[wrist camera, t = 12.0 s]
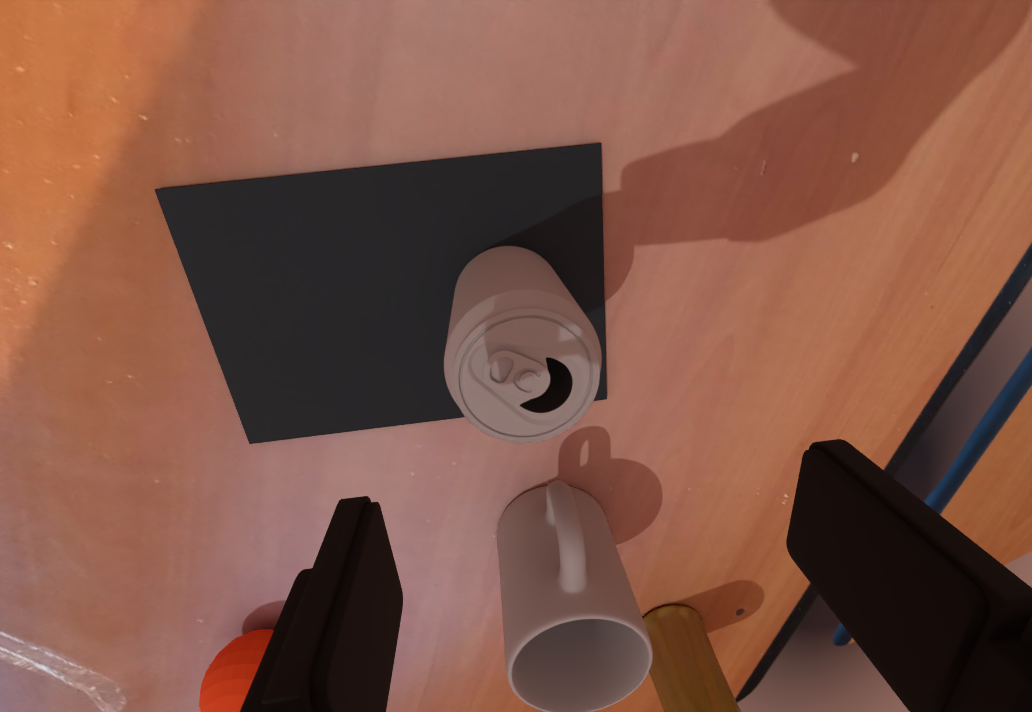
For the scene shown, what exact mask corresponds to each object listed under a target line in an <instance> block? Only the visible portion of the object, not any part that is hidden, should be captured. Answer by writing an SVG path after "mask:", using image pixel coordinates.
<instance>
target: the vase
mask: <svg viewBox="0 0 1032 712" xmlns="http://www.w3.org/2000/svg"><path fill="white" fill-rule="evenodd" d="M643 621H644V624H645V627H646V629H647V632H648V635H649V638H650V641H651V645H652V651H653V659H652V664H651V667H650V670H649V673H650V675H651V678H652V681H653V683H654V686H655V689H656V691H657V694H658V697H659V700H660V703H661V705H662V708H663V710H664V712H741V711H740V708H739V707H738V705H737V703H736V701H735V699H734V697H733V694H732V692H731V690H730V688H729V685H728V683H727V681H726V678H725V676H724V674H723V672H722V669H721V667H720V665H719V663H718V660H717V658H716V656H715V653H714V650H713V648H712V645H711V643H710V640H709V638H708V635H707V633H706V630H705V627H704V625H703V621H702V618H701V616H700V615H699V614H698V613H697V612H696V611H695V610H693V609H692V608H690V607H687V606H681V605H669V606H664V607H660V608H658V609H655V610H653V611H651V612H650V613H648V614H647V615H646V616H645V617H644V618H643Z"/></svg>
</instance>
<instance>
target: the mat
mask: <svg viewBox="0 0 1032 712" xmlns="http://www.w3.org/2000/svg"><path fill="white" fill-rule="evenodd" d="M155 192H156V195H157V198H158V200H159V203H160V206H161V208H162V211H163V214H164V216H165V219H166V222H167V224H168V227H169V230H170V232H171V235H172V238H173V240H174V243H175V246H176V248H177V251H178V254H179V256H180V259H181V262H182V264H183V267H184V270H185V273H186V275H187V278H188V281H189V283H190V286H191V289H192V291H193V294H194V297H195V299H196V302H197V305H198V307H199V310H200V313H201V315H202V318H203V321H204V323H205V326H206V329H207V331H208V334H209V337H210V339H211V342H212V345H213V347H214V350H215V353H216V355H217V358H218V361H219V363H220V366H221V369H222V371H223V374H224V377H225V380H226V382H227V385H228V388H229V390H230V393H231V396H232V398H233V401H234V404H235V406H236V409H237V412H238V414H239V417H240V420H241V422H242V425H243V428H244V430H245V433H246V436H247V438H248V441H249V444H253V443H261V442H269V441H277V440H285V439H293V438H301V437H309V436H317V435H325V434H333V433H341V432H349V431H357V430H365V429H373V428H381V427H389V426H397V425H405V424H413V423H421V422H429V421H437V420H445V419H453V418H461V417H465V416H464V414H463V413H462V411H461V410H460V408H459V406H458V405H457V404H456V402H455V401H454V399H453V397H452V396H451V394H450V392H449V389H448V386H447V383H446V379H445V374H444V355H445V349H446V343H447V336H448V330H449V324H450V318H451V311H452V305H453V299H454V292H455V287H456V283H457V281H458V278H459V276H460V274H461V272H462V271H463V269H464V268H465V267H466V265H467V264H468V263H469V262H470V261H471V260H472V259H474V258H475V257H476V256H478V255H479V254H481V253H483V252H485V251H487V250H489V249H492V248H496V247H501V246H516V247H521V248H525V249H528V250H530V251H533V252H535V253H536V254H538V255H539V256H541V257H542V258H543V259H544V260H546V261H547V262H548V263H549V265H550V266H551V267H552V268H553V270H554V271H555V273H556V274H557V276H558V277H559V278H560V280H561V281H562V283H563V284H564V285H565V287H566V288H567V290H568V291H569V293H570V294H571V295H572V297H573V298H574V300H575V301H576V302H577V304H578V305H579V307H580V308H581V309H582V311H583V312H584V314H585V315H586V317H587V318H588V319H589V321H590V322H591V324H592V326H593V328H594V329H595V332H596V334H597V336H598V339H599V343H600V347H601V358H602V361H601V371H600V379H599V386H598V390H597V393H596V396H595V398H594V400H593V401H596V400H604V399H607V389H606V345H605V300H604V256H603V211H602V167H601V143H596V144H587V145H577V146H567V147H558V148H548V149H538V150H529V151H519V152H509V153H500V154H490V155H480V156H471V157H461V158H451V159H442V160H432V161H422V162H413V163H403V164H393V165H384V166H374V167H364V168H355V169H345V170H335V171H326V172H316V173H306V174H297V175H287V176H277V177H268V178H258V179H248V180H239V181H229V182H219V183H210V184H200V185H190V186H181V187H171V188H161V189H155Z"/></svg>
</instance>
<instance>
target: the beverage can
mask: <svg viewBox="0 0 1032 712" xmlns="http://www.w3.org/2000/svg"><path fill="white" fill-rule="evenodd" d="M601 361H602V358H601V347H600V343H599V339H598V336H597V334H596V332H595V329H594V328H593V326H592V324H591V322H590V321H589V319H588V318H587V317H586V315H585V314H584V312H583V311H582V309H581V308H580V307H579V305H578V304H577V302H576V301H575V300H574V298H573V297H572V295H571V294H570V293H569V291H568V290H567V288H566V287H565V285H564V284H563V283H562V281H561V280H560V278H559V277H558V276H557V274H556V273H555V271H554V270H553V268H552V267H551V266H550V265H549V263H548V262H547V261H546V260H544V259H543V258H542V257H541V256H539V255H538V254H536V253H535V252H533V251H530V250H528V249H525V248H521V247H516V246H501V247H496V248H492V249H489V250H487V251H485V252H483V253H481V254H479V255H478V256H476V257H475V258H474V259H472V260H471V261H470V262H469V263H468V264H467V265H466V267H465V268H464V269H463V271H462V272H461V274H460V276H459V278H458V281H457V283H456V287H455V292H454V299H453V305H452V311H451V318H450V324H449V330H448V336H447V343H446V349H445V355H444V374H445V379H446V383H447V386H448V389H449V392H450V394H451V396H452V397H453V399H454V401H455V402H456V404H457V405H458V406H459V408H460V410H461V411H462V413H463V414H464V416H465V417H466V418H467V419H468V421H469V422H470V423H471V424H472V425H474V426H475V427H476V428H477V429H479V430H480V431H482V432H483V433H485V434H487V435H489V436H491V437H493V438H496V439H499V440H502V441H506V442H512V443H534V442H539V441H544V440H547V439H550V438H553V437H555V436H557V435H559V434H561V433H563V432H564V431H566V430H568V429H569V428H571V427H572V426H573V425H575V424H576V423H577V422H578V421H579V420H580V419H581V418H582V417H583V416H584V415H585V413H586V412H587V411H588V409H589V408H590V406H591V404H592V402H593V400H594V398H595V396H596V393H597V390H598V386H599V379H600V371H601Z"/></svg>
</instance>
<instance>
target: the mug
mask: <svg viewBox="0 0 1032 712" xmlns="http://www.w3.org/2000/svg"><path fill="white" fill-rule="evenodd" d="M497 548H498V557H499V569H500V584H501V600H502V616H503V631H504V647H505V662H506V672H507V677H508V681H509V684H510V686H511V688H512V690H513V691H514V693H515V694H516V695H517V696H518V697H519V698H520V699H521V700H522V701H523V702H525V703H526V704H528V705H530V706H531V707H533V708H536V709H538V710H541V711H545V712H592V711H597V710H600V709H603V708H606V707H608V706H611V705H613V704H615V703H617V702H619V701H621V700H622V699H624V698H625V697H627V696H628V695H630V694H631V693H632V692H633V691H635V690H636V689H637V688H638V687H639V686H640V685H641V683H642V682H643V681H644V679H645V678H646V676H647V674H648V673H649V670H650V667H651V664H652V659H653V651H652V645H651V641H650V638H649V635H648V632H647V629H646V627H645V624H644V621H643V618H642V616H641V613H640V610H639V607H638V605H637V602H636V599H635V597H634V594H633V591H632V588H631V586H630V583H629V580H628V578H627V575H626V572H625V569H624V567H623V564H622V561H621V559H620V556H619V553H618V550H617V548H616V545H615V542H614V539H613V536H612V533H611V530H610V527H609V524H608V521H607V518H606V516H605V514H604V511H603V509H602V508H601V506H600V505H599V503H598V502H597V501H596V500H595V499H594V498H593V497H592V496H591V495H589V494H588V493H586V492H584V491H582V490H580V489H577V488H574V487H570V486H569V485H568V484H567V483H566V482H564V481H562V480H556V481H552V482H551V483H549V484H548V486H542V487H538V488H535V489H532V490H530V491H528V492H526V493H524V494H522V495H521V496H519V497H517V498H516V499H515V500H514V501H513V502H511V504H510V505H509V506H508V507H507V508H506V509H505V511H504V512H503V514H502V516H501V518H500V521H499V524H498V529H497Z"/></svg>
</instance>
